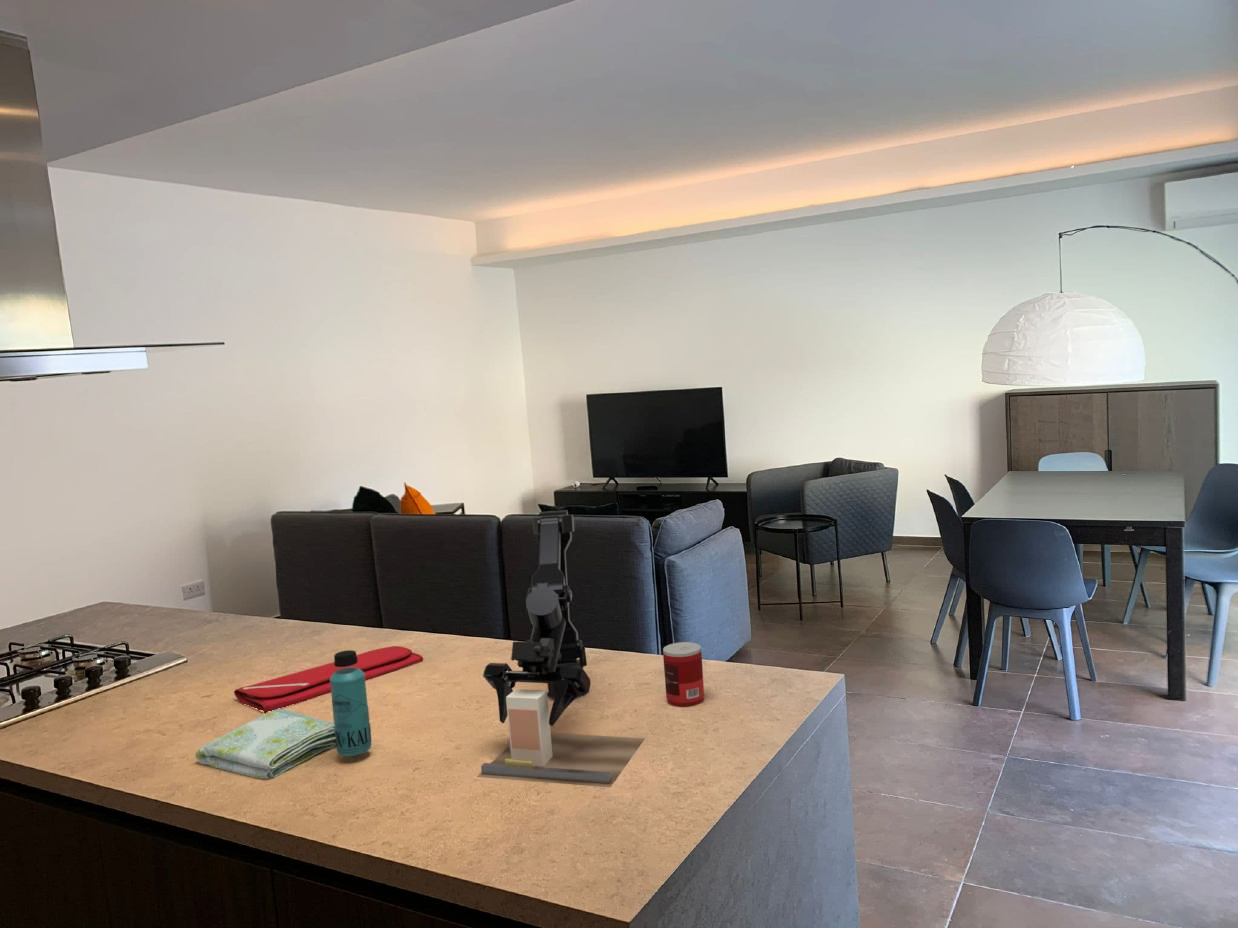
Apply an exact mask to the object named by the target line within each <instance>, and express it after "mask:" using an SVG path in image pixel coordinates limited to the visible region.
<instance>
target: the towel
mask: <svg viewBox="0 0 1238 928" xmlns="http://www.w3.org/2000/svg"><path fill="white" fill-rule="evenodd" d="M333 723H334V721H333V722H332V721H327V720H322V719H319V718H315V717H312V716H310V715H306V714H303V713H298V712H296V711H291V710H286V709H283V708H281V709H276V710H273V711H271V712H269V713H265V714H262V715H261V716H259V717H257V718H255V719H253V720H251V721H249V722H247V723H245V724H244V725H241V726H239V727H237V728H235V729H233V730H231V731H229V732H227V733H225V734H223V735H221V736H219V737H217V738H215V739H213V740H211V741H210V742H207V743H205V744H204V745H202V746H201V747H199V748H198V749H196V751H195V755H194V756H195V759H196V760H197V761H198V762H199V764H200V765H203V766H205V765H206V766H210V767H212V768H216V769H220V770H224V771H227V772H231V773H236V774H240V775H242V776H247V777H250V778H254V779H255V778H256V779H260V780H270V779H271V778H276V777H278V776H280V775H282V774H283V773H285V772H286V771H288V770H290V769H292V768H293V767H296V766H297V765H300V764H302V763H304V762H306V761H308V760H310V758H311V759H312V757H314V756H315V755H317V754H319V753H321V752H323V751H325V750H330V749H333V748H336V743H335V739H336V736H335V735H334V733H335V726H334V724H333Z"/></svg>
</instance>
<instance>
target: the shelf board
mask: <svg viewBox="0 0 1238 928" xmlns="http://www.w3.org/2000/svg"><path fill="white" fill-rule="evenodd" d="M645 739H646V738H645V737H628V736H611V735H595V734H593V735H592V734H581V733H580V734H577V733H563V732H561V733H559V732H558V733H557V732H551V744H552V755H553V757H552V758H551V759H550V760H549V761H548V762H547V763H546V764H545V766H533V767H547V768H561V769H574V770H588V771H602V772H611V778H612V781H611V783H610V784H599V783H586V782H573V781H560V780H547V779H534V778H521V777H508V776H495V775H482V772H481V771H480V773H478V775H477V776H476V777H477V778H486V779H497V780H500V779H501V780H512V781H525V782H537V783H538V782H539V783H549V784H550V783H551V784H562V785H563V784H565V785H575V786H576V785H577V786H587V787H588V786H589V787H600V788H601V787H602V788H611V787H612V786H613V784H614V783H615V782H616V781H617V779H618V777H619V776H620V775H621V773H622V772H623V770H624V769H625V768H626V767H627V764H628V763H629V762H630V760H631V759H632V757H633V756H634V755H635V753H637V750H638V749H639V748H640V746H641V745H642V744H643V742H644V741H645ZM505 759H511V748H510V744H509V745H508V746H507V747H506V748H504V750H503V751H502V752H501V753H500V754H499V755H498V756H496V758H494V759H493V760H492V761H491V762H490V763H491V764H505Z"/></svg>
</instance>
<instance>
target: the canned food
mask: <svg viewBox="0 0 1238 928" xmlns="http://www.w3.org/2000/svg"><path fill="white" fill-rule="evenodd" d="M662 649H663V650H662V656H663V668H664V669H663V670H664V671H663V673H664V683H665V686H664V687H665V697H666V701H667V702H668V704H670V705H672V706H675V707H680V708H681V707H683V708H684V707H685V708H686V707H692V706H696V705H698V704H701V703H702V702H703V700H704V697H705V687H704V674H703V673H704V670H703V669H704V668H703V657H702V656H703V655H702V647H701V645H700V644H699V643H695V642H691V641H690V642H689V641H682V642H673V643H670V644H668V645H665V646H664V647H663V648H662Z"/></svg>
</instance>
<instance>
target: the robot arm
mask: <svg viewBox="0 0 1238 928" xmlns="http://www.w3.org/2000/svg"><path fill="white" fill-rule="evenodd" d="M532 528H533V535H537V541H538V542H539V547H538V548H539V549H538V552H539V553H538V569H537V570H536V571H535V573H534V574H533V575H532V576H531V581H530V582H531V584H530V587H528V588H527V591H526V598H525V600H524V602H525V607H526V609H527V612H528V616H529V620H530V623H531V625H532V626H533V628H532V631H531V635H530V639H529V638H527V639H526V640H525V641H512V647H511V648H512V649H511V656H510V660H511V661H517V663H516V664H517V666H518V667H519V668H522V670H513V669H512V668H511V667H510V666H509V664H508V663H503V662H489V663H488V664H487V665H486V666H485V667H484V669H483V670H484V671H483V673H482V674H483V675H482V677H483V678H484V679H485V681H487V683H488V684H489V685H490V687H492V688H493V689H494V690H495V691H496V695H497V703H498V705H497V706H498V713H499V714H498V717H499V722H500V723H501V724H505V722H506V720H507V719H508V715H507V704H506V697H507V696H508V695H509V694H510V693H512V692H513V691H514V690H513V688H515V687H516V683H533V684H535V683H536V684H547V697H549V698H551V699H553V703H552V706H551V710H550V712H549V725H550V727H552V726H554V724H556V722H557V721H558V719H560V717H561V716H562V715H563V713H564V712H565V710H567V708H568V707H569V706H570V705H571V704H572V703H573V702H574V701H575V699H577V698H581V697H582V696H584V695H587V694H588V693H590V689H591V688H590V687H591V678H590V677H589V675H588V674H587V672H586V671H585V669H584V668H585V667H586V666H588V664H587V663H588V662H587V654H586V653H587V652H586V646H585V645H583V643H582V640H581V639H579V632H578V630H577V629H576V628H575V626H574V624H573V623H572V621H571V620H570V619H571V617H570V603H571V602H572V599H573V592H572V591H573V590H571V588H570V586H569V585H568V571H567V570H568V569H567V555H566V554H567V553H566V552H567V550H568V548H569V546H570V544H571V543H572V540H573V532H575V519H574V514H569V512H568V509H563V510H550V511H540V512H539V514H538V517H537V516H536V517H532Z"/></svg>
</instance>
